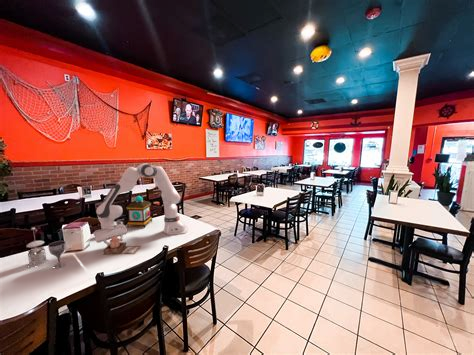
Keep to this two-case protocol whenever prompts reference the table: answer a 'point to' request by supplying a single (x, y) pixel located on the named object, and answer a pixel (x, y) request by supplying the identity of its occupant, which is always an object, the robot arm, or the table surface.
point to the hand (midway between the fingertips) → (115, 242)
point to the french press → (39, 256)
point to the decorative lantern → (139, 212)
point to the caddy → (121, 249)
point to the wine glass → (57, 252)
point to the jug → (114, 243)
